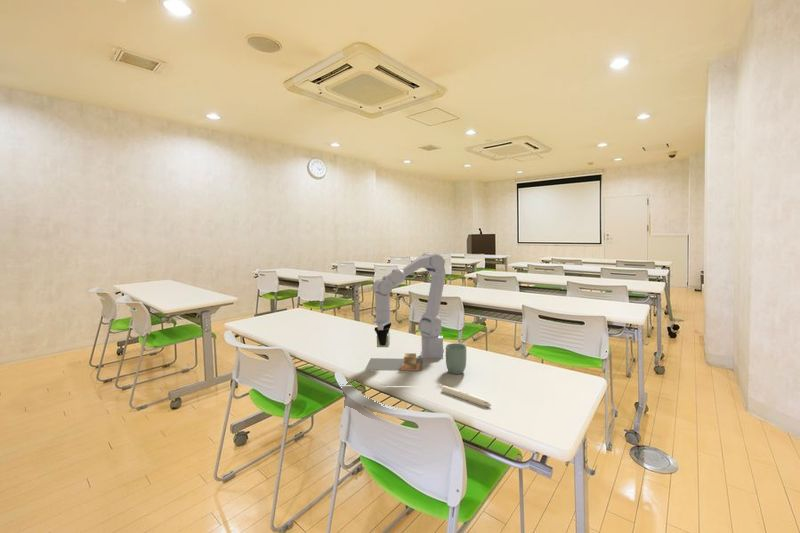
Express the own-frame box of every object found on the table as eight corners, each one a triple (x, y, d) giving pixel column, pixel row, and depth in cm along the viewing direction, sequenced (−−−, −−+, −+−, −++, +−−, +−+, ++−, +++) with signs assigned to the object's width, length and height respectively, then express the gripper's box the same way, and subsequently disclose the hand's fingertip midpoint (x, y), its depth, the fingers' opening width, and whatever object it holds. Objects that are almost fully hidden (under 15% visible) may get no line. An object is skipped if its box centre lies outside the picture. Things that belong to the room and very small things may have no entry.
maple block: (416, 364, 143) (416, 353, 142) (415, 368, 138) (415, 357, 138) (405, 364, 143) (404, 353, 143) (404, 368, 139) (403, 357, 138)
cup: (467, 369, 138) (467, 344, 138) (465, 377, 131) (465, 350, 130) (447, 367, 140) (447, 342, 140) (444, 375, 133) (444, 349, 132)
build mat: (422, 360, 149) (422, 358, 149) (421, 372, 136) (421, 370, 136) (370, 359, 151) (370, 358, 151) (364, 371, 139) (364, 369, 139)
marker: (493, 407, 108) (493, 400, 108) (489, 410, 107) (489, 402, 107) (445, 390, 121) (445, 383, 121) (441, 392, 119) (441, 385, 119)
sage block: (389, 343, 145) (389, 333, 145) (388, 347, 141) (387, 336, 140) (378, 343, 146) (378, 332, 145) (376, 347, 141) (376, 336, 141)
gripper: (375, 305, 149) (376, 337, 151) (369, 313, 135) (370, 348, 136) (392, 305, 149) (393, 337, 150) (387, 313, 134) (388, 348, 135)
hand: (383, 343), depth 143 cm, fingers closed on sage block, 4 cm apart
